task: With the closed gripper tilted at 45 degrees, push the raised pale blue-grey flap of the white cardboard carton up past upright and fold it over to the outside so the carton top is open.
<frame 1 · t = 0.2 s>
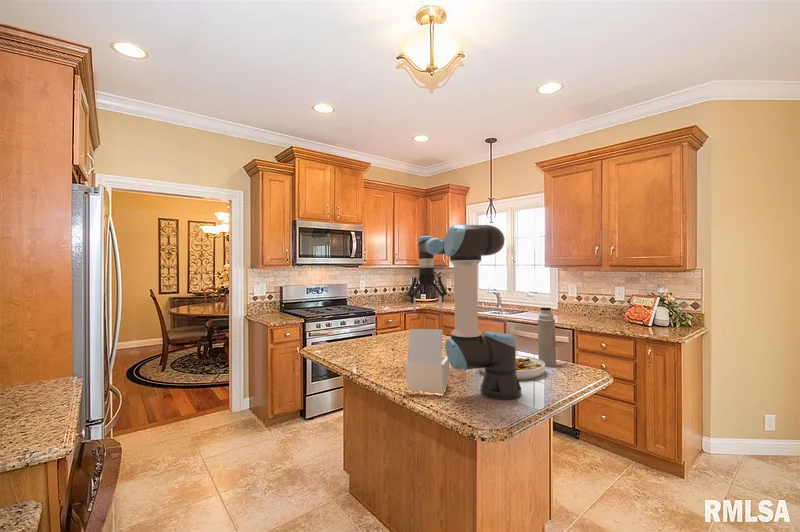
hand: (427, 309, 190), 28 cm above the countertop, tool pointing down, fingers open, 13 cm apart
thermos bottle: (547, 365, 186), on the countertop
carton flap: (425, 345, 149), point 18 cm above the countertop, hinge at 65.0°
bowl: (510, 373, 176), on the countertop
white carton: (428, 389, 153), on the countertop
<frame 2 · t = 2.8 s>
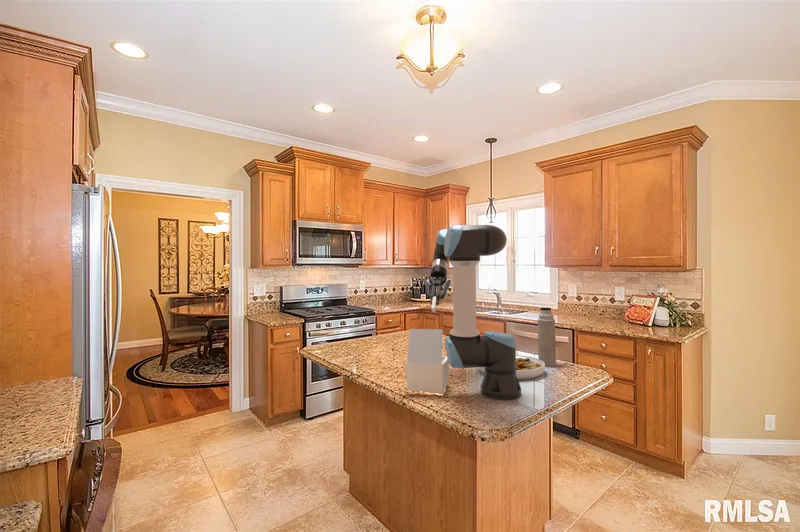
hand: (433, 309, 167), 30 cm above the countertop, tool tilted 45°, fingers closed
nothing on the countertop moved.
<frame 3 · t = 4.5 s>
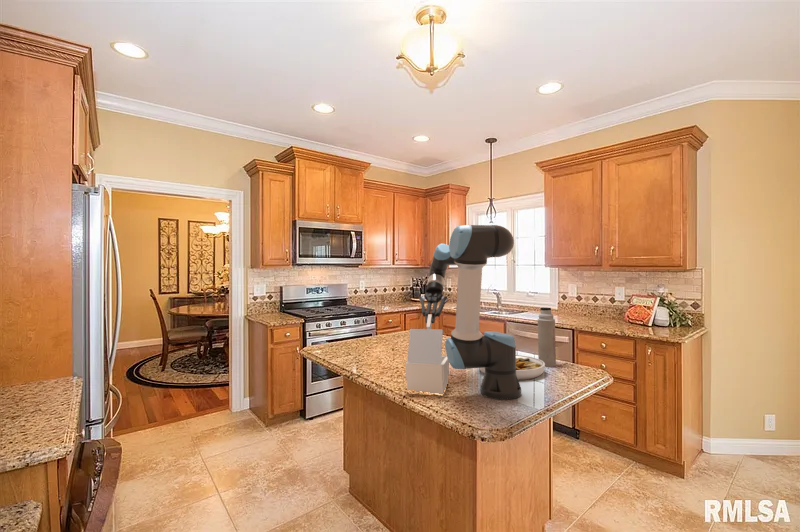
hand: (428, 328, 159), 24 cm above the countertop, tool tilted 45°, fingers closed
nothing on the countertop moved.
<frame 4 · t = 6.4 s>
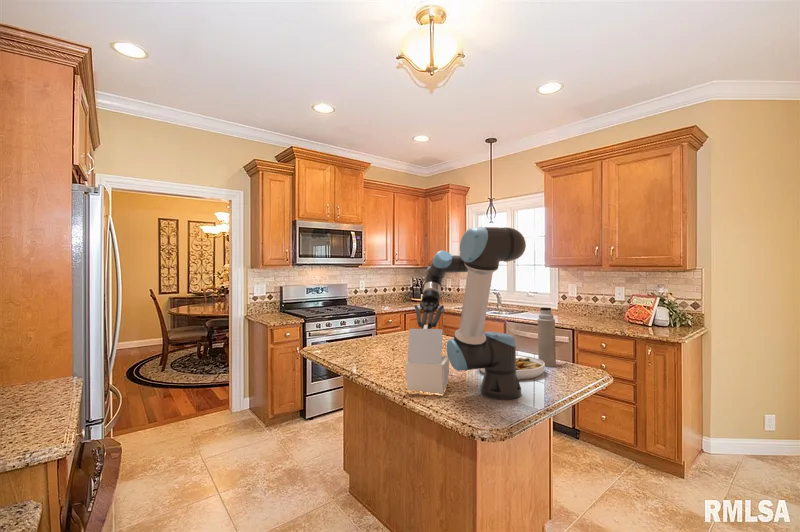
hand: (424, 340, 152), 20 cm above the countertop, tool tilted 45°, fingers closed
carton flap: (425, 345, 149), point 18 cm above the countertop, hinge at 66.8°, touching gripper
everything else where it was.
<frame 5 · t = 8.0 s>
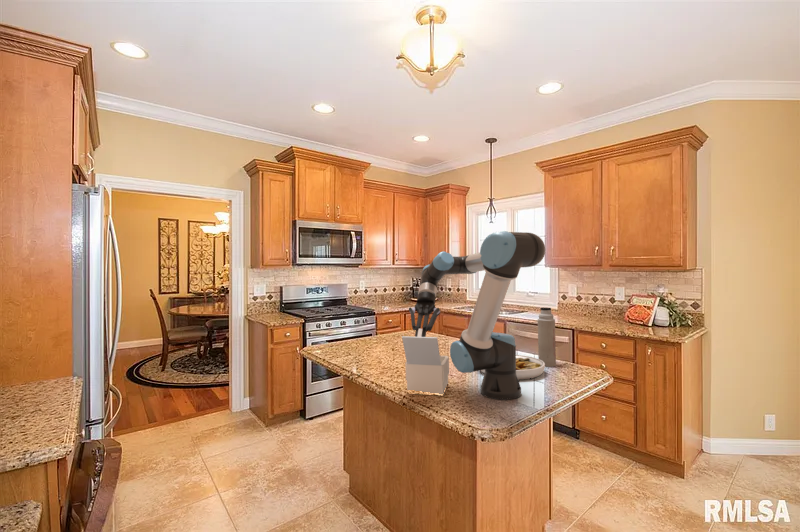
hand: (418, 345, 143), 20 cm above the countertop, tool tilted 45°, fingers closed
carton flap: (421, 351, 143), point 18 cm above the countertop, hinge at 120.1°, touching gripper
everything else where it was.
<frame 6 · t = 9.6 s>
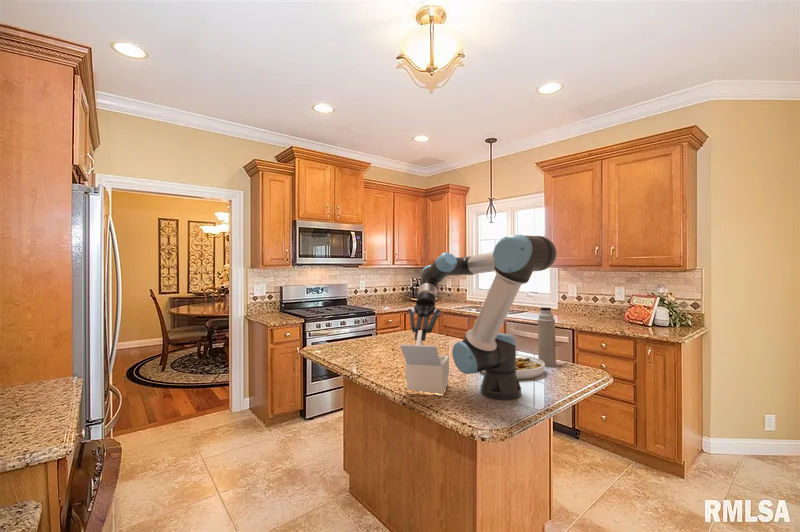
hand: (418, 347, 138), 20 cm above the countertop, tool tilted 45°, fingers closed
carton flap: (420, 355, 142), point 16 cm above the countertop, hinge at 136.6°, touching gripper
everything else where it was.
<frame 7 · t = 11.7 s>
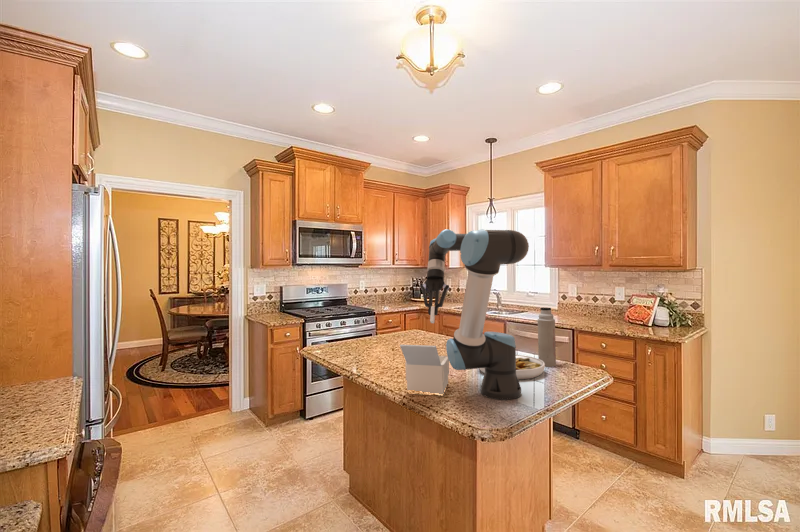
hand: (432, 322, 159), 26 cm above the countertop, tool tilted 25°, fingers closed
carton flap: (420, 355, 142), point 16 cm above the countertop, hinge at 136.6°
everything else where it was.
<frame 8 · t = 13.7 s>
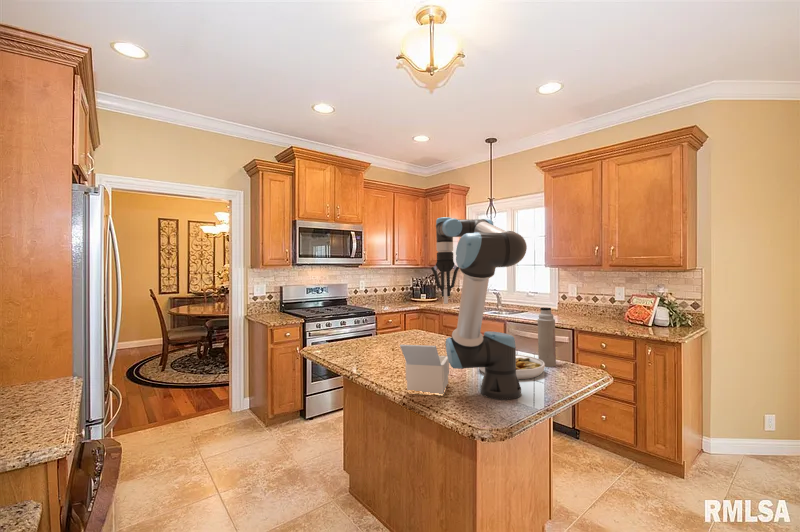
hand: (446, 303, 174), 32 cm above the countertop, tool pointing down, fingers closed
nothing on the countertop moved.
at the end: carton flap at +137° (first picture: +65°) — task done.
